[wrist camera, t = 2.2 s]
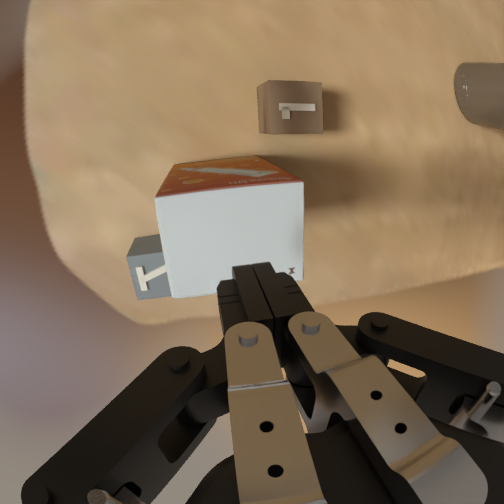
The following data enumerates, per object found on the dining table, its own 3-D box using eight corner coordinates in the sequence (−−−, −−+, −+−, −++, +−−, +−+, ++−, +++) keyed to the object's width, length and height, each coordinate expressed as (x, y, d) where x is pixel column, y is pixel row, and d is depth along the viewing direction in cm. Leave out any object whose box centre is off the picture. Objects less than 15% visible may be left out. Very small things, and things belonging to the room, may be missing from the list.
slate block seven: (178, 231, 28) (175, 251, 24) (184, 271, 30) (184, 295, 26) (135, 237, 28) (125, 257, 23) (144, 276, 30) (137, 301, 25)
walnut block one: (302, 87, 24) (322, 82, 20) (304, 131, 26) (324, 133, 22) (256, 87, 24) (269, 79, 20) (259, 132, 26) (271, 134, 22)
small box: (257, 153, 26) (308, 179, 15) (260, 216, 29) (306, 283, 18) (171, 163, 25) (151, 197, 14) (179, 227, 28) (172, 303, 16)
